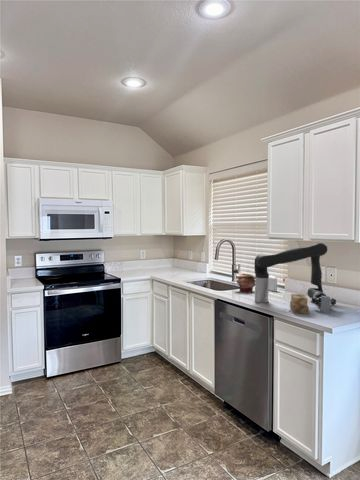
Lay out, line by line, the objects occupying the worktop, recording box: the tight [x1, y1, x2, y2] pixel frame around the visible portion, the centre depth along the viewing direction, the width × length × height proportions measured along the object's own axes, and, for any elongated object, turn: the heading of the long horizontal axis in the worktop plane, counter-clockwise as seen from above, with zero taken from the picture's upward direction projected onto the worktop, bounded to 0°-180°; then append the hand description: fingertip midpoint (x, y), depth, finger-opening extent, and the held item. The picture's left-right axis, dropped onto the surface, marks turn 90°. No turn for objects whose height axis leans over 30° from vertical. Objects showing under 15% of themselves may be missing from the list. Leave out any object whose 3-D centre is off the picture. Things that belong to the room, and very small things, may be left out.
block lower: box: [289, 300, 309, 315], centre depth 218 cm, size 9×14×5 cm, turn 169°
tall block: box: [320, 295, 331, 314], centre depth 216 cm, size 4×4×10 cm
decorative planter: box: [235, 273, 255, 293], centre depth 281 cm, size 20×12×14 cm, turn 115°
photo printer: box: [268, 275, 278, 292], centre depth 287 cm, size 10×4×12 cm, turn 30°
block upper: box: [290, 293, 308, 307], centre depth 218 cm, size 8×12×5 cm, turn 169°
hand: (325, 303), depth 215 cm, fingers open, 8 cm apart
